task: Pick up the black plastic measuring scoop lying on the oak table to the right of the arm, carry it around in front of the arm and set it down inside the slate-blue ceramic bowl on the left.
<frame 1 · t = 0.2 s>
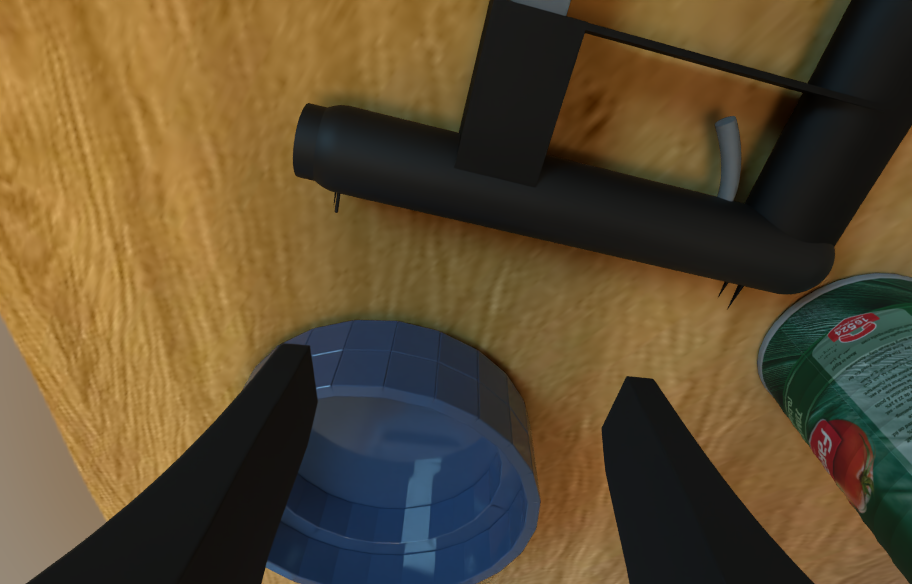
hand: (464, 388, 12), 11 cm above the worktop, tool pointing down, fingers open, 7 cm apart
door handle: (621, 38, 17), on the worktop
bowl: (387, 429, 27), on the worktop
canned tomato: (843, 342, 24), on the worktop
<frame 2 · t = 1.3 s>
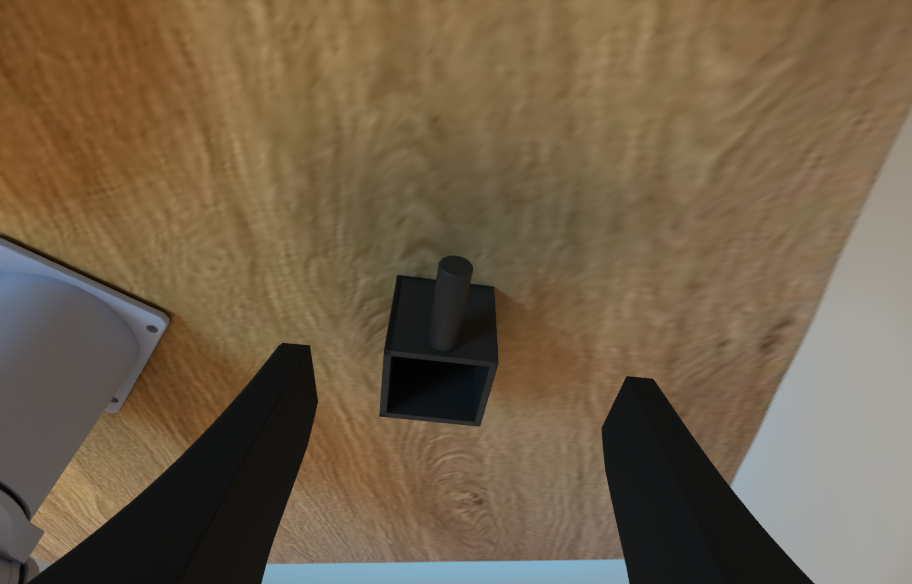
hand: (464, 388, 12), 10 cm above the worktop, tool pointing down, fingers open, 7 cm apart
scoop: (440, 314, 24), on the worktop
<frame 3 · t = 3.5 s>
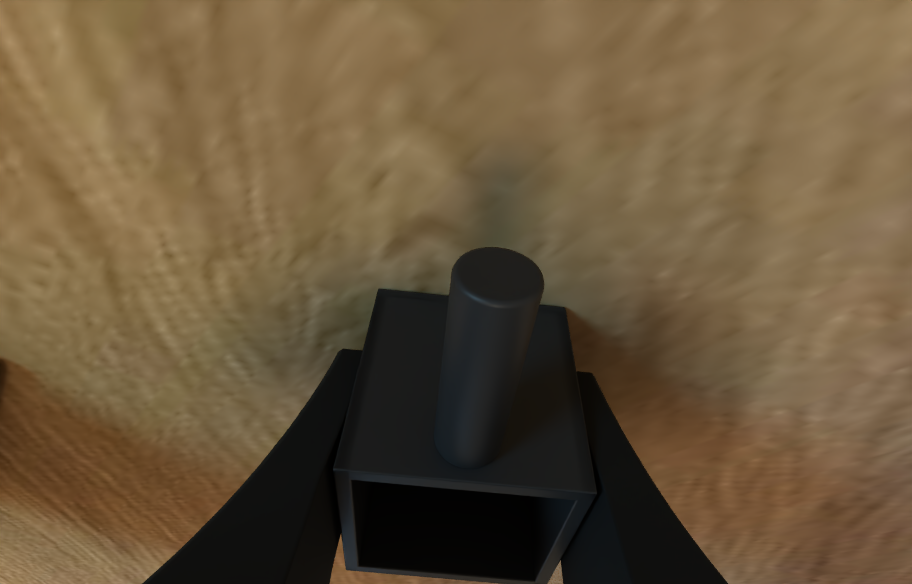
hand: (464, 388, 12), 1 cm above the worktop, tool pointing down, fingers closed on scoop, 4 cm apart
scoop: (463, 357, 13), on the worktop, touching gripper
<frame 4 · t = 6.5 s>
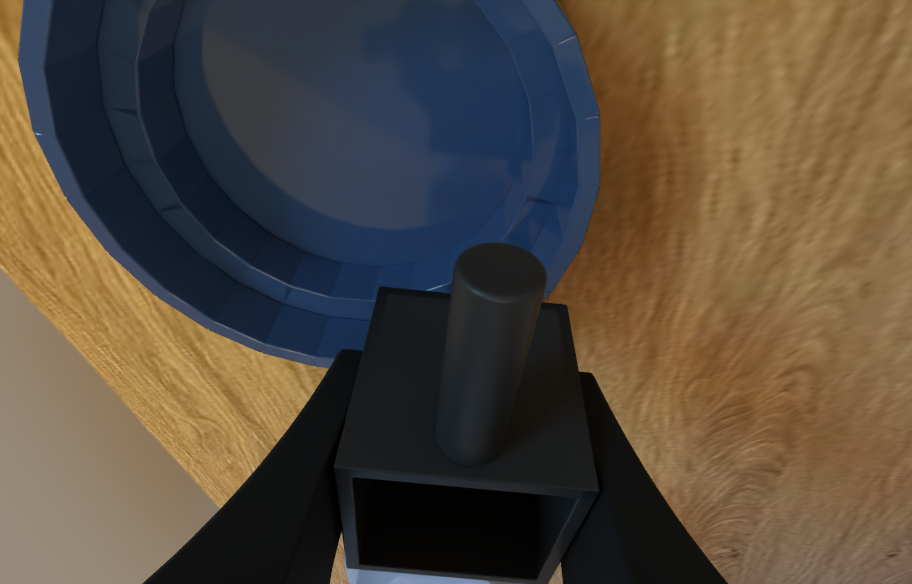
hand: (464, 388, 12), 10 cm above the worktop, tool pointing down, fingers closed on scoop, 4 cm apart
bowl: (357, 121, 18), on the worktop
scoop: (464, 355, 13), point 8 cm above the worktop, touching gripper
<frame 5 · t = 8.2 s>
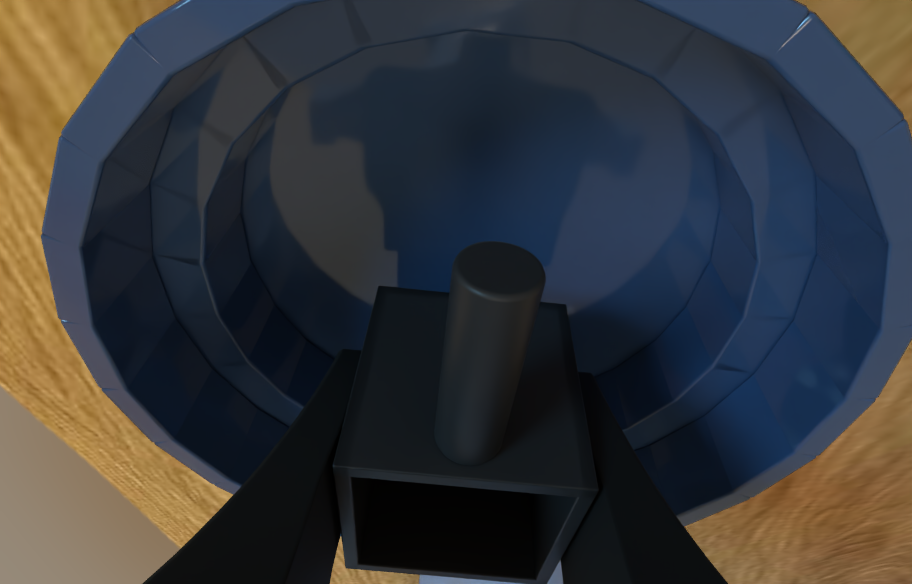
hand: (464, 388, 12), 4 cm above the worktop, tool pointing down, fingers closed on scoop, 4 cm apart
bowl: (475, 246, 14), on the worktop
scoop: (463, 354, 13), point 2 cm above the worktop, touching gripper
when the fingers open (2 cm above the worktop, at t = 9.3 s): scoop stays where it is, resting on bowl.
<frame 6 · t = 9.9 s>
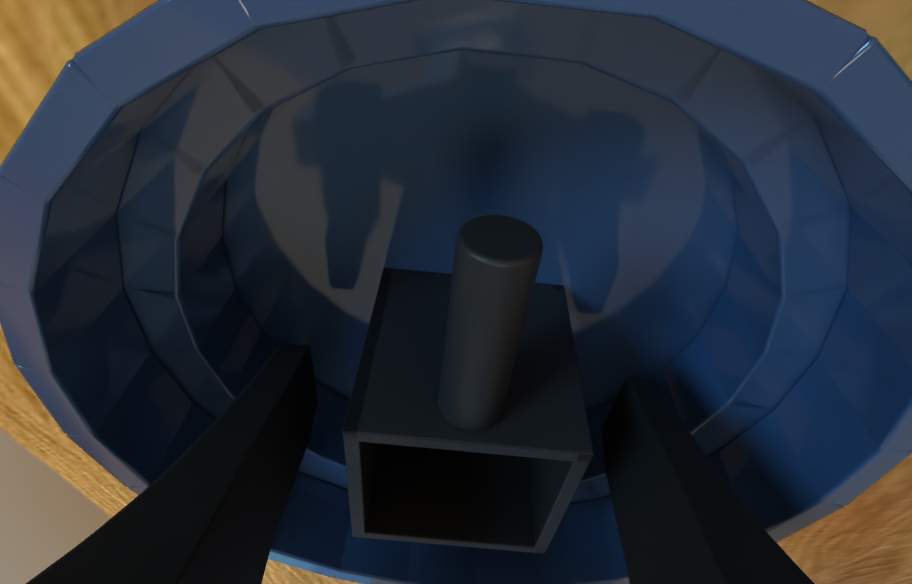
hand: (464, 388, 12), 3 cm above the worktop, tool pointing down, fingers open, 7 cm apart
bowl: (473, 270, 13), on the worktop
scoop: (465, 336, 14), point 1 cm above the worktop, touching bowl
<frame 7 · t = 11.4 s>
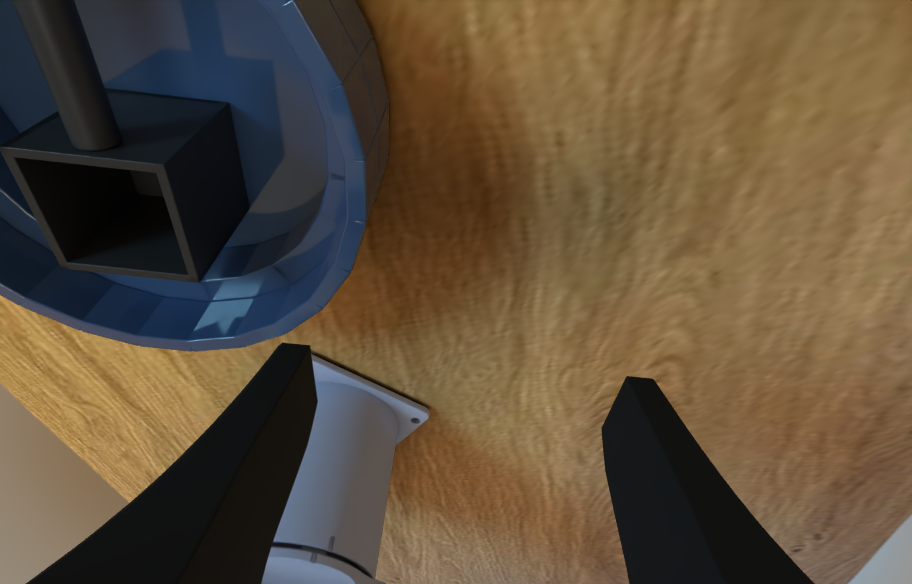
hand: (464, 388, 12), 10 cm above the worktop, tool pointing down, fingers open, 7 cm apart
bowl: (174, 97, 18), on the worktop
scoop: (179, 152, 18), point 1 cm above the worktop, touching bowl
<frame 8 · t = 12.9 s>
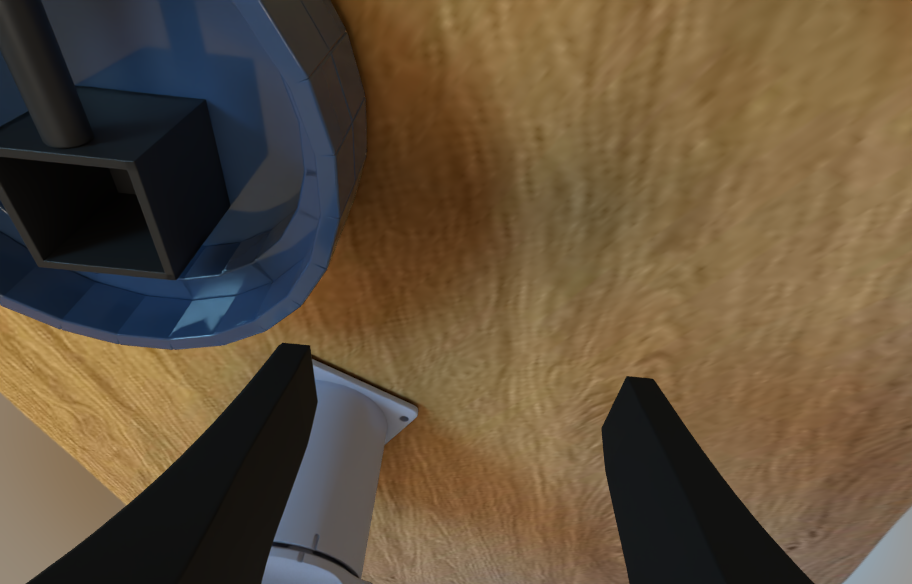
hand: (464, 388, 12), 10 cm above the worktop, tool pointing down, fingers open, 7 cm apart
bowl: (152, 94, 18), on the worktop
scoop: (158, 150, 18), point 1 cm above the worktop, touching bowl
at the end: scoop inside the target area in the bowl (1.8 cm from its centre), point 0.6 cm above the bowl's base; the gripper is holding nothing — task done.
